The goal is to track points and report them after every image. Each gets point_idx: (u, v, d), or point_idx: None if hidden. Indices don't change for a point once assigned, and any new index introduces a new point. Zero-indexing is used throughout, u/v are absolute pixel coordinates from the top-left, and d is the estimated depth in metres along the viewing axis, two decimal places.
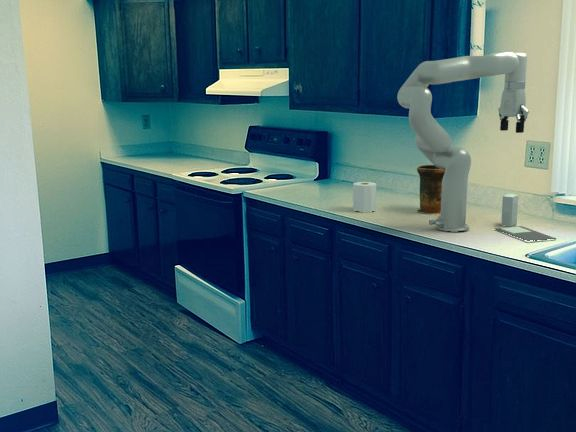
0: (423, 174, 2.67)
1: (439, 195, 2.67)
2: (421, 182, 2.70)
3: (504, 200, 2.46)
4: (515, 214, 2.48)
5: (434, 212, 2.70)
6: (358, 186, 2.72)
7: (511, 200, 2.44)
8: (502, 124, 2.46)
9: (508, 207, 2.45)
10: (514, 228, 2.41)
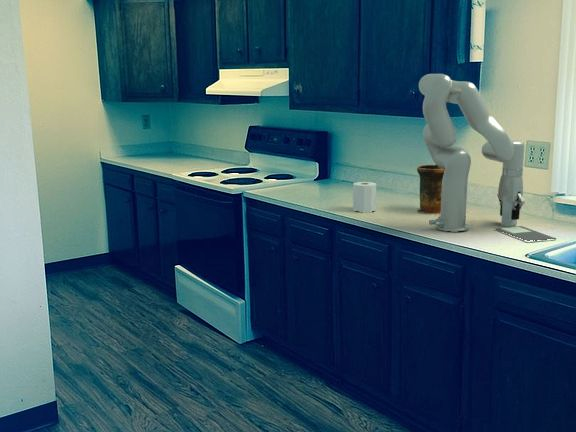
0: (423, 174, 2.67)
1: (439, 195, 2.67)
2: (421, 182, 2.70)
3: (504, 200, 2.46)
4: None
5: (434, 212, 2.70)
6: (358, 186, 2.72)
7: None
8: None
9: (508, 207, 2.45)
10: (514, 228, 2.41)
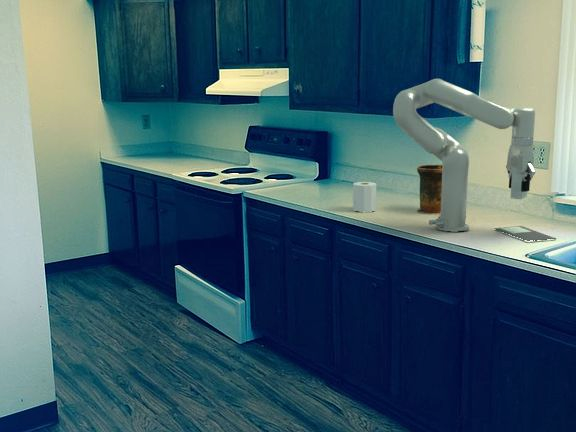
0: (423, 174, 2.67)
1: (439, 195, 2.67)
2: (421, 182, 2.70)
3: (514, 171, 2.32)
4: None
5: (434, 212, 2.70)
6: (358, 186, 2.72)
7: None
8: None
9: (518, 178, 2.32)
10: (514, 228, 2.41)
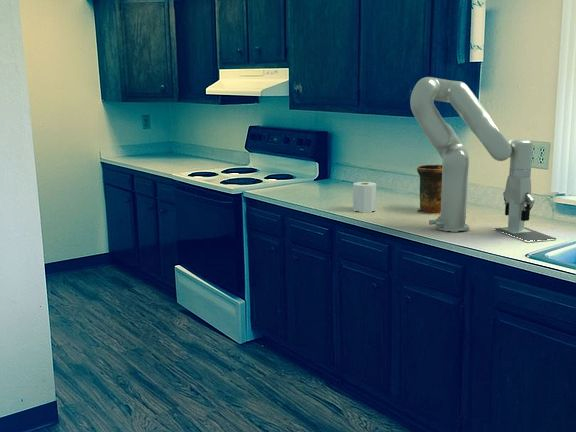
0: (423, 174, 2.67)
1: (439, 195, 2.67)
2: (421, 182, 2.70)
3: (511, 204, 2.35)
4: None
5: (434, 212, 2.70)
6: (358, 186, 2.72)
7: None
8: (507, 209, 2.41)
9: (515, 211, 2.34)
10: None
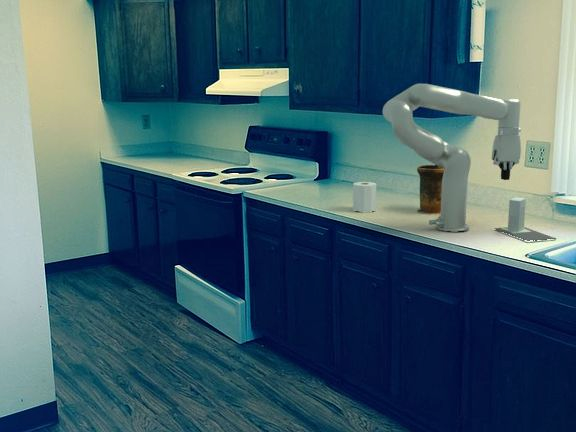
0: (423, 174, 2.67)
1: (439, 195, 2.67)
2: (421, 182, 2.70)
3: (511, 204, 2.35)
4: (522, 218, 2.37)
5: (434, 212, 2.70)
6: (358, 186, 2.72)
7: (518, 204, 2.33)
8: None
9: (515, 211, 2.34)
10: None
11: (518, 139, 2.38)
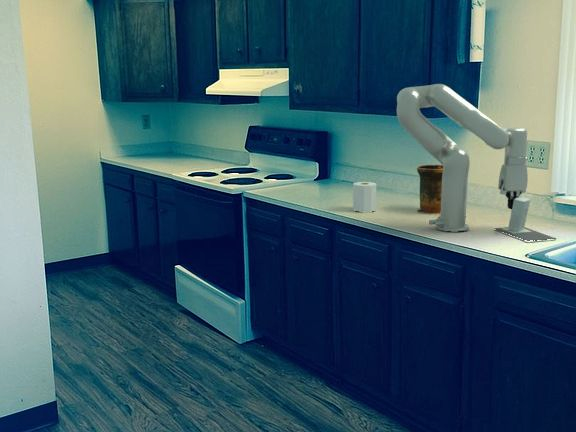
0: (423, 174, 2.67)
1: (439, 195, 2.67)
2: (421, 182, 2.70)
3: (515, 203, 2.34)
4: (524, 219, 2.37)
5: (434, 212, 2.70)
6: (358, 186, 2.72)
7: (522, 204, 2.32)
8: None
9: (518, 211, 2.34)
10: None
11: (525, 168, 2.36)
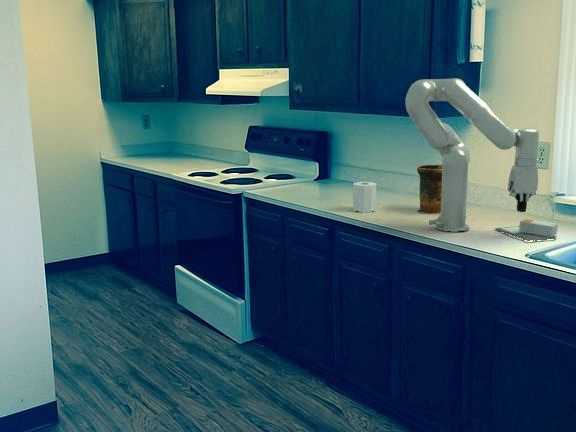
0: (423, 174, 2.67)
1: (439, 195, 2.67)
2: (421, 182, 2.70)
3: (547, 227, 2.28)
4: None
5: (434, 212, 2.70)
6: (358, 186, 2.72)
7: (547, 235, 2.28)
8: None
9: (540, 231, 2.30)
10: (514, 228, 2.41)
11: (536, 170, 2.30)
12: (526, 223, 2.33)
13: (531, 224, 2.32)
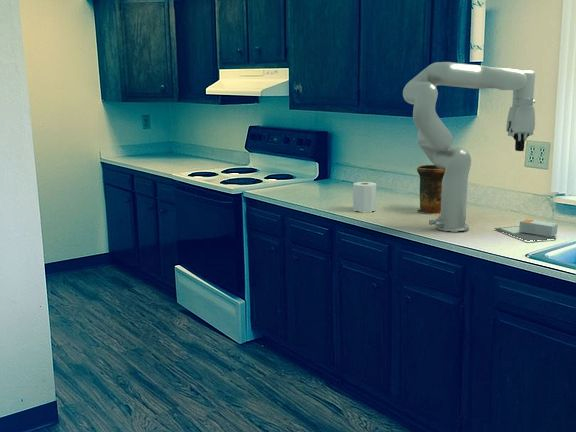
0: (423, 174, 2.67)
1: (439, 195, 2.67)
2: (421, 182, 2.70)
3: (547, 227, 2.28)
4: None
5: (434, 212, 2.70)
6: (358, 186, 2.72)
7: (547, 235, 2.28)
8: None
9: (540, 231, 2.30)
10: (514, 228, 2.41)
11: (532, 110, 2.41)
12: (526, 223, 2.33)
13: (531, 224, 2.32)
